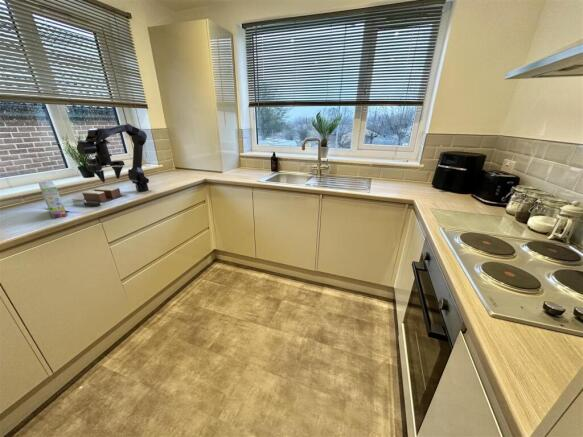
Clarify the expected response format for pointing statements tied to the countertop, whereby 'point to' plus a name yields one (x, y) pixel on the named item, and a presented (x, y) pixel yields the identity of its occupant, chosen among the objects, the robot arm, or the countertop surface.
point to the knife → (86, 203)
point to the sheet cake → (109, 191)
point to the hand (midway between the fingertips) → (111, 180)
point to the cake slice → (94, 196)
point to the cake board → (109, 199)
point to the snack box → (52, 199)
